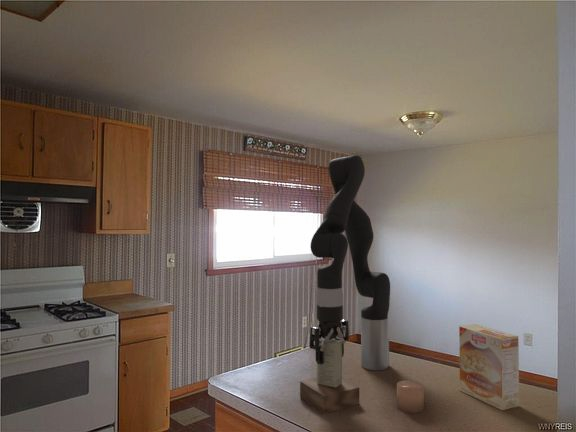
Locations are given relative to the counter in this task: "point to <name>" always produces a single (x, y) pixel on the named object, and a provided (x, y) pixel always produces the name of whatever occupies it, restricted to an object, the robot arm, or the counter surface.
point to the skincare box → (331, 364)
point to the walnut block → (329, 395)
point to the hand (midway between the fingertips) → (330, 360)
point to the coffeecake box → (489, 365)
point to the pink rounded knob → (410, 396)
